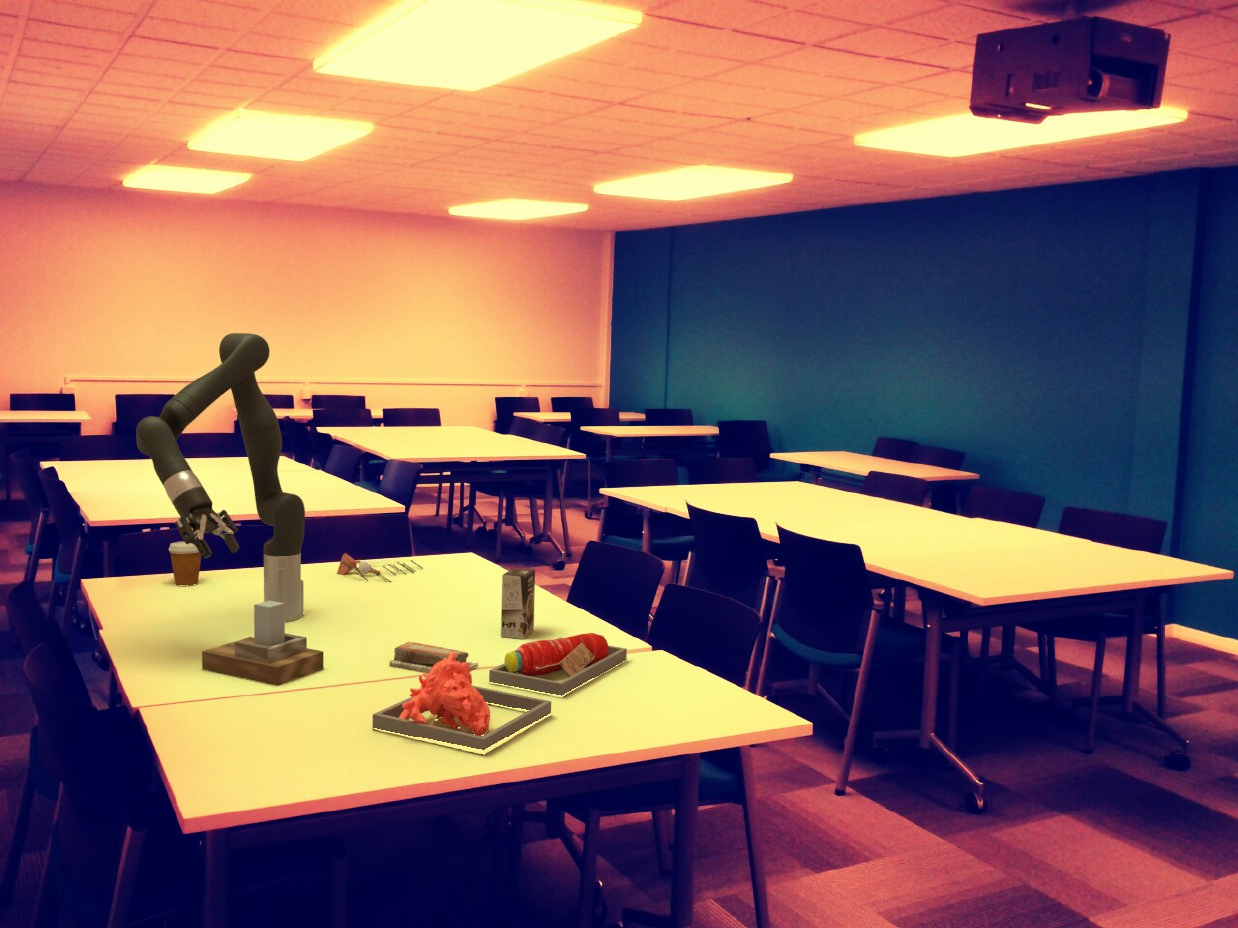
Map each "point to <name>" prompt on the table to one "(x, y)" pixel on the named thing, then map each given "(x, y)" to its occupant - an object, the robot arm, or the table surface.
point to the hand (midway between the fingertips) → (222, 553)
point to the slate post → (269, 623)
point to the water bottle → (557, 655)
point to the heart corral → (393, 723)
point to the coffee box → (517, 603)
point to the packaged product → (424, 657)
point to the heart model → (449, 697)
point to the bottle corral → (554, 687)
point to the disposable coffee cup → (185, 563)
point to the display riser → (264, 660)
